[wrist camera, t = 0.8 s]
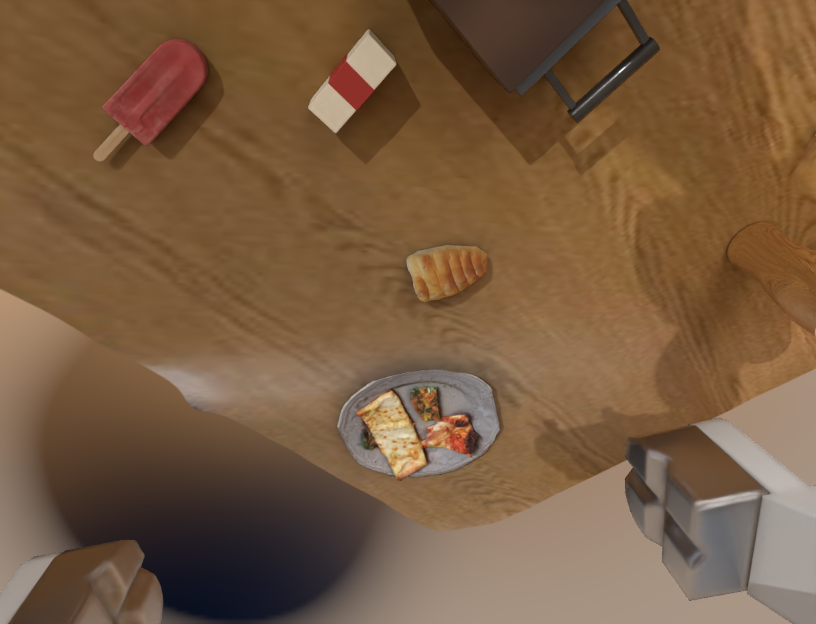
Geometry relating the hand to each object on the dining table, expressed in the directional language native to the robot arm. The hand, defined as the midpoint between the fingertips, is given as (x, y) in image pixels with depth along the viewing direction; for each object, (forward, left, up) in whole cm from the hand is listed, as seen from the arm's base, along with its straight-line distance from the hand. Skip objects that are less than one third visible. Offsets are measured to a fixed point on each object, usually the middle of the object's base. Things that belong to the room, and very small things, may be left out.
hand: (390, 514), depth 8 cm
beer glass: (-17, +47, -44) cm, 67 cm away
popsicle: (+18, -12, -44) cm, 49 cm away
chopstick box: (+3, 0, -44) cm, 44 cm away
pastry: (+11, +21, -44) cm, 50 cm away
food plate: (+32, +39, -44) cm, 67 cm away
